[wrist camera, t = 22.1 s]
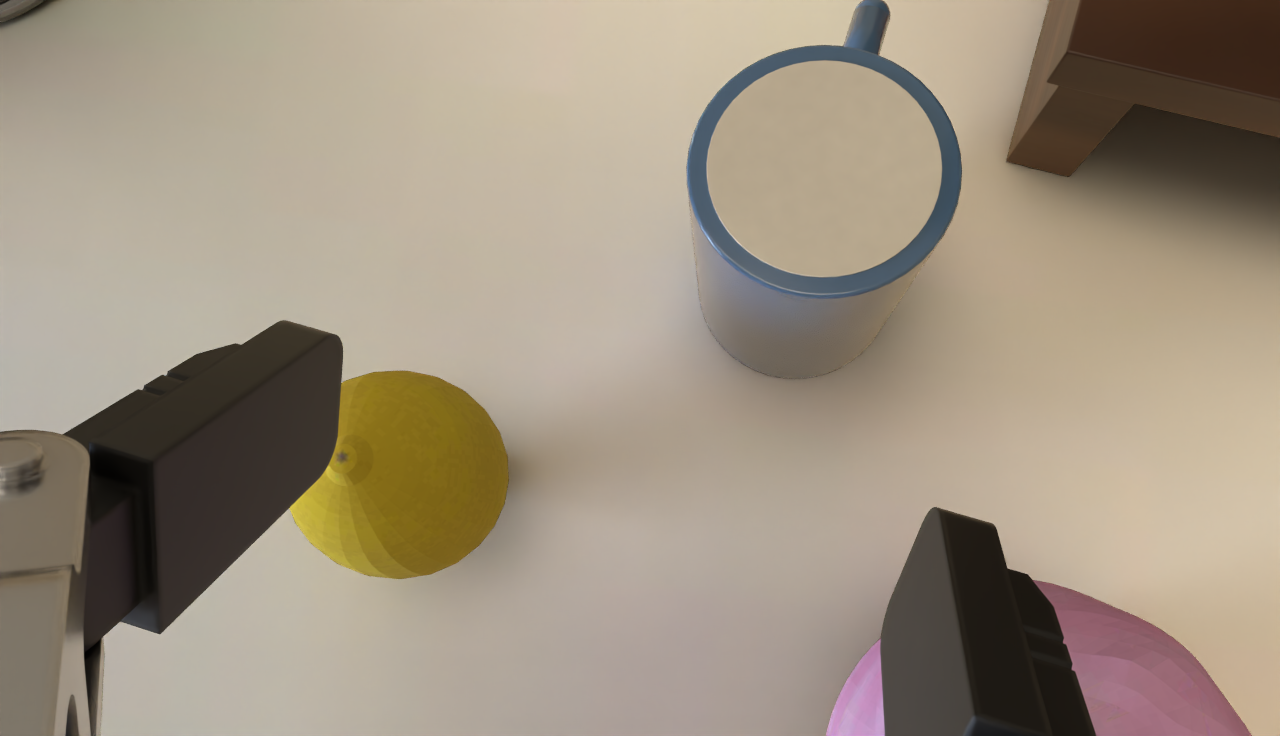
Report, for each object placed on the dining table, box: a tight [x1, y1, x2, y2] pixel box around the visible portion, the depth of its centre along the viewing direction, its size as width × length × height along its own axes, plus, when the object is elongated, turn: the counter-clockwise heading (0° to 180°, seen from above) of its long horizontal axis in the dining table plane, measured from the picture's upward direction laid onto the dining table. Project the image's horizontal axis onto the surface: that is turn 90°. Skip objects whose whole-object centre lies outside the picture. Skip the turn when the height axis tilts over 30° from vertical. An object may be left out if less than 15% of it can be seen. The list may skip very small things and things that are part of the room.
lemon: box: [290, 371, 509, 579], centre depth 24 cm, size 6×6×8 cm
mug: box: [687, 0, 962, 379], centre depth 24 cm, size 8×6×9 cm
